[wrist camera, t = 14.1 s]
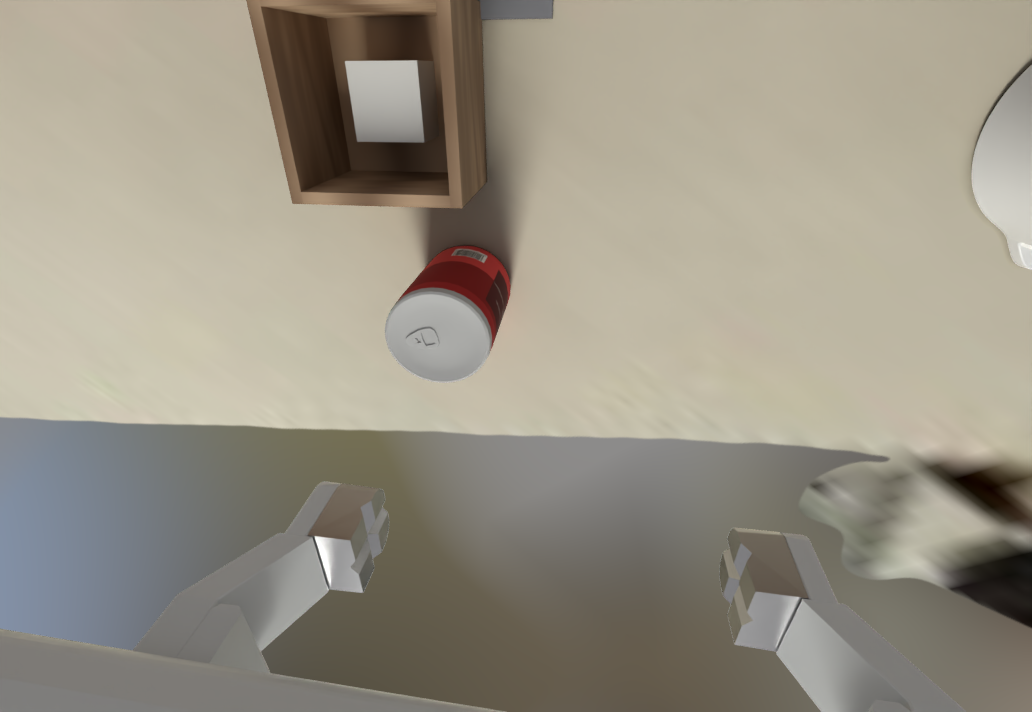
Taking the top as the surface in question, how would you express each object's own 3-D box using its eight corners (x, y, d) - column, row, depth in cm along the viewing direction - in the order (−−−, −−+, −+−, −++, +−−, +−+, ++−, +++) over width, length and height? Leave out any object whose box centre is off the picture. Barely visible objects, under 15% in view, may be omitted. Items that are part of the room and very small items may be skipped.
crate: (481, 2, 35) (449, -16, 27) (487, 181, 41) (462, 208, 33) (318, 5, 36) (243, -11, 28) (347, 178, 42) (292, 203, 34)
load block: (433, 61, 36) (416, 60, 33) (439, 135, 39) (424, 142, 35) (367, 61, 37) (344, 61, 33) (377, 135, 39) (357, 141, 36)
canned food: (410, 266, 45) (363, 319, 36) (483, 226, 43) (452, 271, 33) (456, 333, 48) (422, 398, 39) (527, 299, 45) (509, 360, 36)
